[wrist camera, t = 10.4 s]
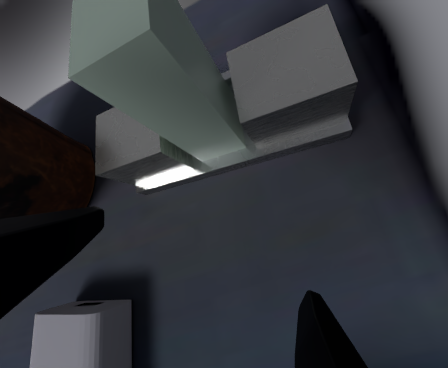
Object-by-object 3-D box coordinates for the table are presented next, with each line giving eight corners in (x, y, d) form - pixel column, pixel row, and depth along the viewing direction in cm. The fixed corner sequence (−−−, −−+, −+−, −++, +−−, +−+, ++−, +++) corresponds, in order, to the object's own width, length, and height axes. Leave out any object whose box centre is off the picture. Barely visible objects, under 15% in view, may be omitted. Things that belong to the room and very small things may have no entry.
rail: (349, 137, 18) (367, 89, 12) (146, 195, 24) (93, 183, 19) (322, 59, 20) (325, -13, 14) (142, 133, 27) (94, 105, 21)
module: (246, 147, 19) (150, 28, 8) (202, 161, 21) (68, 78, 9) (236, 100, 21) (143, -58, 9) (196, 117, 22) (72, -3, 11)
